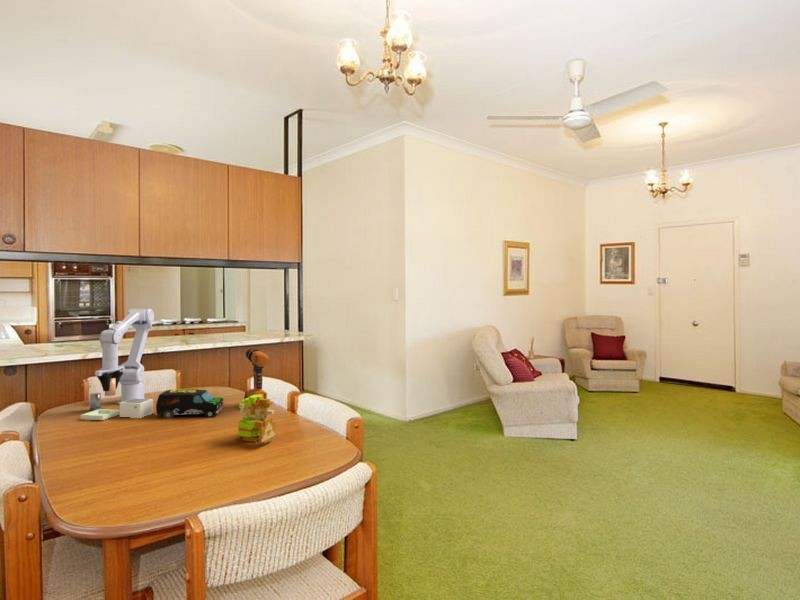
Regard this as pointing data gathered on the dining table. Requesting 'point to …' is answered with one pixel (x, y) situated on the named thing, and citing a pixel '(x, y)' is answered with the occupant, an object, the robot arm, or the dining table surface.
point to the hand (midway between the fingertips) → (110, 389)
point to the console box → (136, 408)
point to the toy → (256, 419)
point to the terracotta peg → (111, 388)
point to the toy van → (188, 403)
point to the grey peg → (95, 401)
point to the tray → (100, 414)
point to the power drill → (257, 371)
